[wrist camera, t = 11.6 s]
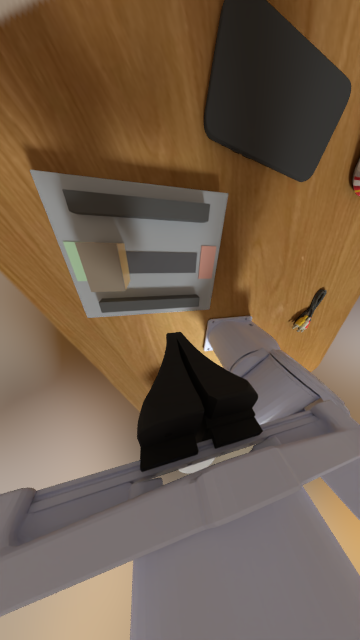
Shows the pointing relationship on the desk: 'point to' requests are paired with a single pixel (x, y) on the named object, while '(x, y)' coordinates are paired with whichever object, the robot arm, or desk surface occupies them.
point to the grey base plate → (138, 240)
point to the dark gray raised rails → (142, 210)
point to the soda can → (357, 179)
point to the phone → (272, 90)
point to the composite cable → (309, 312)
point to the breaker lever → (104, 265)
